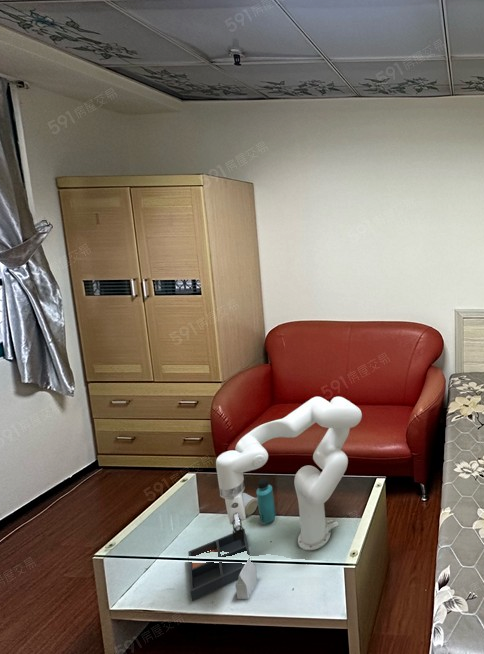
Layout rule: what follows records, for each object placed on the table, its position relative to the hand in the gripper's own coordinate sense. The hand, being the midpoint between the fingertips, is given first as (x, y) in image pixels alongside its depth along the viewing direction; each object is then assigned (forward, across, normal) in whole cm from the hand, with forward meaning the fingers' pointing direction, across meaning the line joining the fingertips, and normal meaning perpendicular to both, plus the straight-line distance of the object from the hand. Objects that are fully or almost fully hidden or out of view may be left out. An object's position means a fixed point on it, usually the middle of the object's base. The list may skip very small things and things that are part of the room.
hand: (237, 529), depth 143 cm
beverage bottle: (+22, +26, -12) cm, 36 cm away
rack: (+23, +12, +7) cm, 26 cm away
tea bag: (+23, -4, -1) cm, 23 cm away
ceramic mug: (+23, +37, -6) cm, 44 cm away
